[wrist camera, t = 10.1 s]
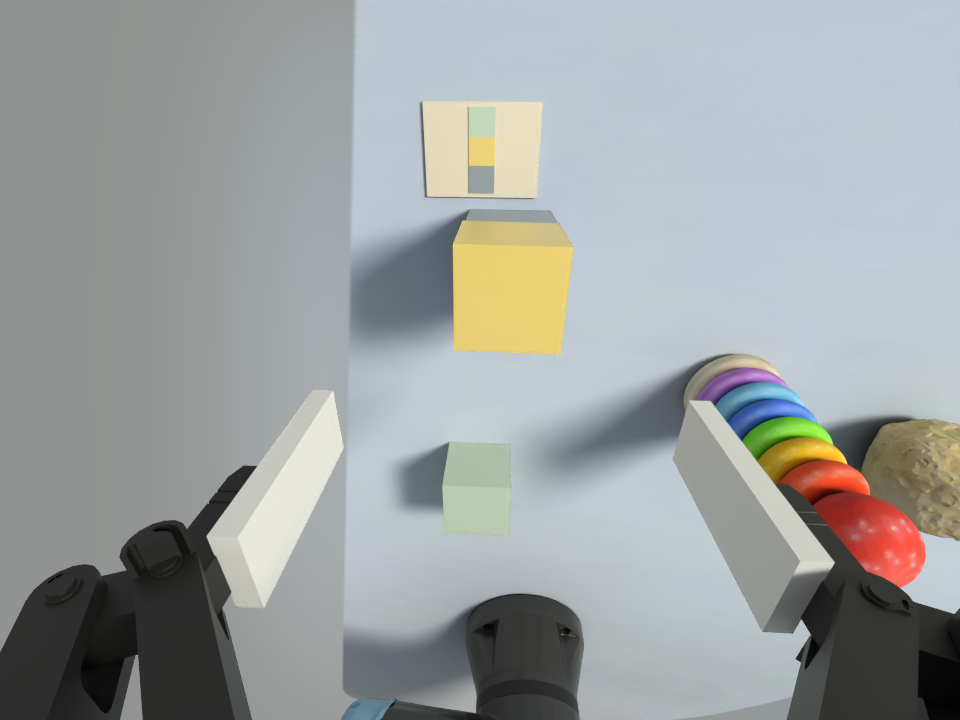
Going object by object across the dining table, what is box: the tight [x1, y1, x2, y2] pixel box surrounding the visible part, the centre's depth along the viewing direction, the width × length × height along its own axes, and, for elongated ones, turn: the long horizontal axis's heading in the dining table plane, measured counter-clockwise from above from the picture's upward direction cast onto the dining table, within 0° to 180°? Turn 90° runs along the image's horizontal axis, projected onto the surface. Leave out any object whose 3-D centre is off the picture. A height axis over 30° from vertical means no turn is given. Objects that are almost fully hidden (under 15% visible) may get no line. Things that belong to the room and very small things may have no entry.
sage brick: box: [442, 442, 511, 536], centre depth 42 cm, size 6×6×6 cm
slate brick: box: [466, 209, 557, 223], centre depth 31 cm, size 6×6×6 cm
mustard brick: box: [453, 221, 574, 354], centre depth 26 cm, size 6×6×6 cm
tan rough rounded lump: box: [860, 419, 960, 541], centre depth 36 cm, size 10×10×10 cm
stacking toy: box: [683, 354, 926, 588], centre depth 30 cm, size 8×8×19 cm
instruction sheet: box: [422, 101, 543, 198], centre depth 30 cm, size 6×8×1 cm
